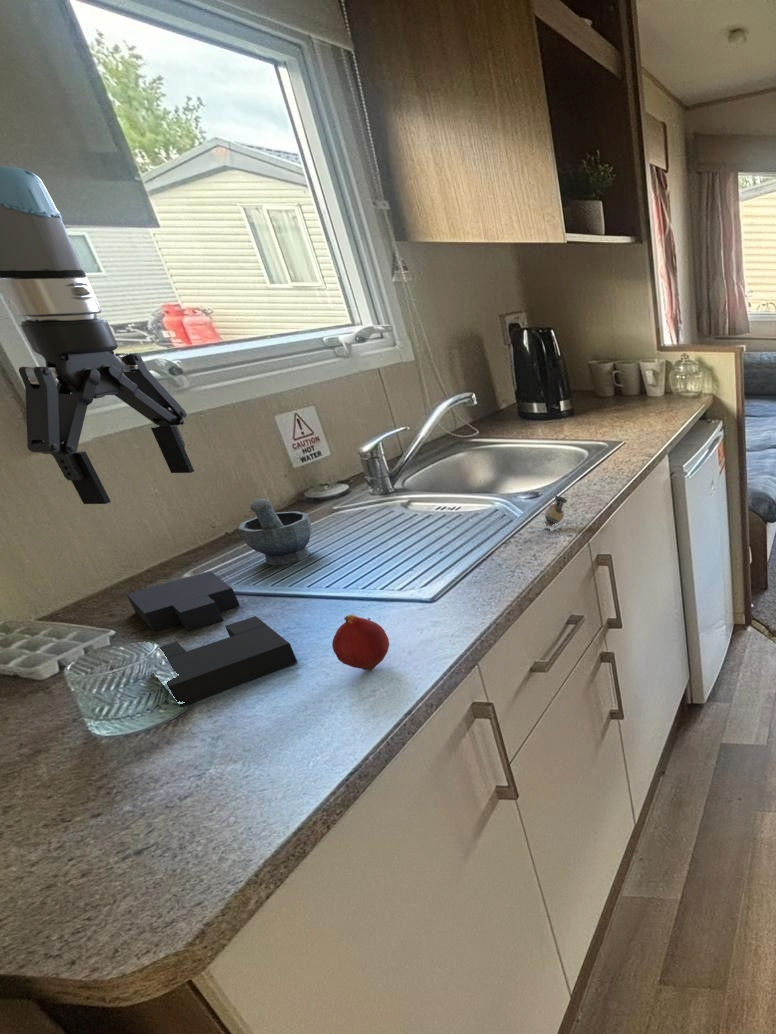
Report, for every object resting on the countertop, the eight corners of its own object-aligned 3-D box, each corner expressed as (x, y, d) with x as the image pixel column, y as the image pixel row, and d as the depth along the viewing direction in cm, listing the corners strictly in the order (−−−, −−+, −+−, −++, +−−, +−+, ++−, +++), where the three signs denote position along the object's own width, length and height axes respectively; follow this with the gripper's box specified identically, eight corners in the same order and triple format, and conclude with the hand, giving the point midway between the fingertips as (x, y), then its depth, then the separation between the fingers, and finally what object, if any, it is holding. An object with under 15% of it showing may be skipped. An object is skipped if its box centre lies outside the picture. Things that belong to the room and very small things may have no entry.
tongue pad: (135, 611, 97) (125, 593, 96) (218, 587, 104) (210, 570, 103) (161, 640, 90) (151, 621, 89) (248, 612, 97) (240, 594, 96)
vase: (565, 520, 132) (560, 491, 129) (577, 527, 128) (572, 498, 126) (539, 526, 129) (533, 497, 126) (550, 534, 125) (545, 504, 122)
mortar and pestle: (259, 553, 116) (232, 488, 111) (321, 543, 121) (299, 480, 115) (250, 577, 108) (220, 507, 102) (318, 565, 112) (293, 498, 106)
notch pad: (152, 672, 83) (141, 652, 81) (263, 634, 91) (255, 615, 90) (180, 707, 76) (169, 686, 75) (297, 662, 85) (289, 643, 84)
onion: (362, 656, 86) (343, 602, 83) (405, 657, 86) (388, 603, 83) (333, 681, 81) (311, 625, 78) (378, 682, 81) (358, 626, 78)
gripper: (-16, 326, 69) (86, 518, 78) (177, 310, 91) (237, 461, 100) (-90, 327, 68) (21, 519, 78) (121, 310, 90) (187, 461, 100)
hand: (143, 486), depth 89 cm, fingers open, 13 cm apart
